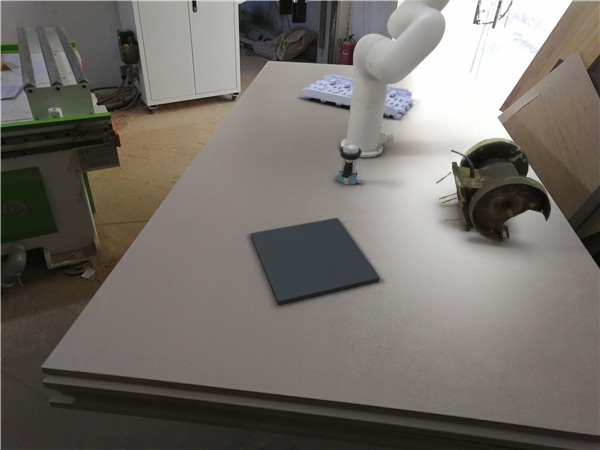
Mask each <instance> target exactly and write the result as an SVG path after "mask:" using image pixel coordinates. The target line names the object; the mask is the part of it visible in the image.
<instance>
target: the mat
mask: <svg viewBox="0 0 600 450" xmlns="http://www.w3.org/2000/svg"><path fill="white" fill-rule="evenodd" d="M250 238H251V240H252V243H253V245H254V248H255V250H256V253H257V255H258V258H259V261H260V263H261V265H262V268H263V270H264V273H265V276H266V278H267V280H268V283H269V285H270V288H271V290H272V293H273V295H274V298H275V300H276V302H277V305H278V306H280V305H285V304H289V303H292V302H297V301H302V300H306V299H310V298H314V297H319V296H322V295H326V294H327V295H328V294H331V293H335V292H339V291H344V290H348V289H352V288H357V287H360V286H365V285H369V284H373V283H378V282H380V280H381V278H380V276H379V274H378V272H377V271H376V270H375V269H374V267H373V266H372V264H371V263H370V261H369V260H368V259H367V257H366V256H365V254H364V253H363V251H362V250H361V248H360V247H359V246H358V244H357V243H356V242H355V240H354V239H353V237H352V236H351V235H350V234H349V232H348V230H347V229H346V228H345V226H344V225H343V224H342V222H341V220H340V219H339V218H338V217H334V218H328V219H323V220H316V221H312V222H306V223H301V224H295V225H290V226H284V227H278V228H272V229H267V230H261V231H256V232H251V233H250Z"/></svg>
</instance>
